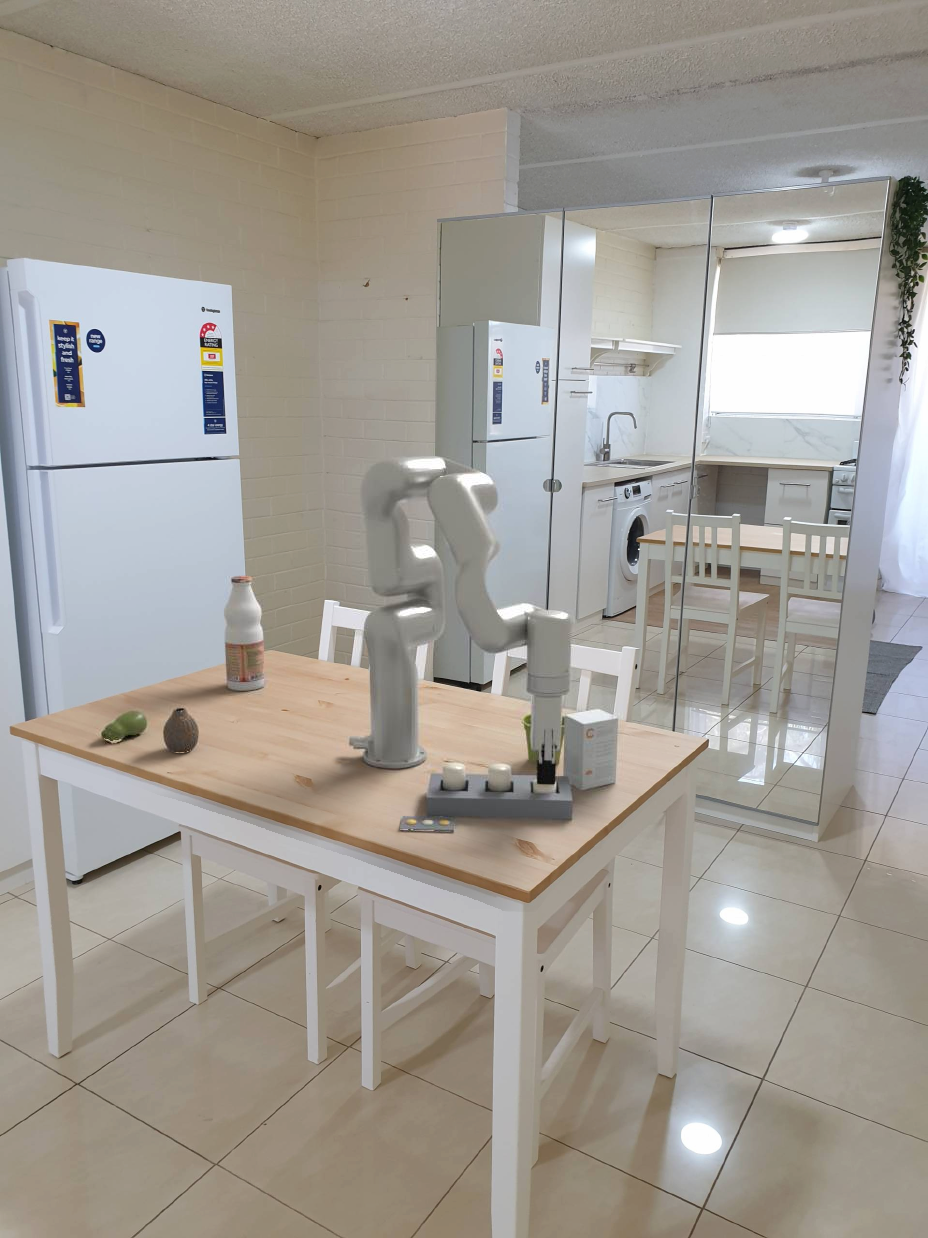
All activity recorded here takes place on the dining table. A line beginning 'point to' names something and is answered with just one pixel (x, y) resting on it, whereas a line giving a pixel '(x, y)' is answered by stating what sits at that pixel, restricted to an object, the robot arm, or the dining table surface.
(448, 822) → the pattern tile
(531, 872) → the dining table surface
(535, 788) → the button right
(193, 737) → the vase
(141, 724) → the pear
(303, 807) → the dining table surface
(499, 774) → the button mid
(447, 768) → the button left
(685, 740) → the dining table surface
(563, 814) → the board
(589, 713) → the small box
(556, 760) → the plant pot
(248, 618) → the fruit juice
